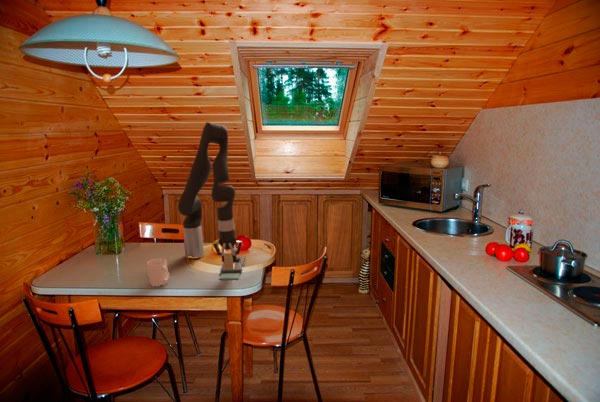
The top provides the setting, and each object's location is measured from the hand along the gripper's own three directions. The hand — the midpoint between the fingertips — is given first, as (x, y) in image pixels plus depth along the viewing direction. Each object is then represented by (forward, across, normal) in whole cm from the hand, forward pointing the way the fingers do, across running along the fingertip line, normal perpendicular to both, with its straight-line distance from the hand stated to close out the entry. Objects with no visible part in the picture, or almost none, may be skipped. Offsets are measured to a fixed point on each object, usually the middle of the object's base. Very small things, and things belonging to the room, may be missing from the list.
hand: (229, 262), depth 200 cm
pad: (+7, 0, 0) cm, 7 cm away
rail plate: (+7, 0, +11) cm, 14 cm away
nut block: (+3, 0, 0) cm, 3 cm away
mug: (+7, -31, -5) cm, 33 cm away
